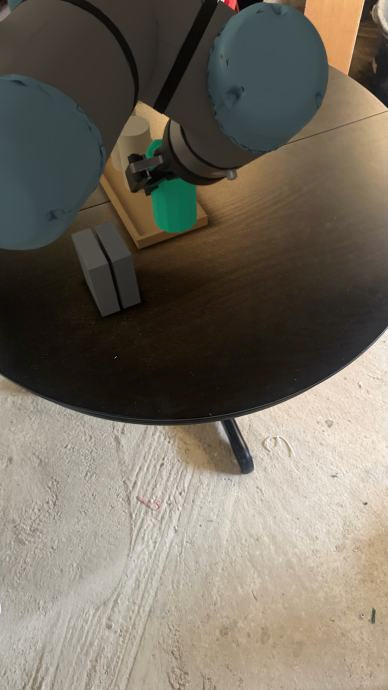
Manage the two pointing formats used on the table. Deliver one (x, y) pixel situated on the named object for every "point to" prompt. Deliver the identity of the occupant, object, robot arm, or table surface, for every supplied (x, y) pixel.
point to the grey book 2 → (119, 263)
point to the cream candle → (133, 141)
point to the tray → (138, 209)
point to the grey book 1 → (96, 271)
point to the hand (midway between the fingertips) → (165, 180)
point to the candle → (173, 201)
